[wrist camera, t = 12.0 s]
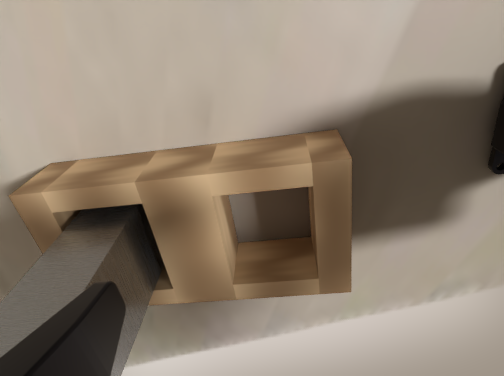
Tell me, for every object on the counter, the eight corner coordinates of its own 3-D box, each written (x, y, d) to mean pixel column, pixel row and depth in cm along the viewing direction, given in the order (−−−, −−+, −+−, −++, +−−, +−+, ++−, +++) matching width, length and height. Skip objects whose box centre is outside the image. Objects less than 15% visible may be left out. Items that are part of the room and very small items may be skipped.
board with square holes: (337, 129, 19) (351, 158, 16) (339, 248, 24) (351, 292, 20) (50, 163, 21) (8, 196, 18) (102, 267, 26) (76, 310, 22)
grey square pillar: (153, 179, 22) (27, 380, 10) (173, 240, 24) (89, 455, 13) (96, 186, 22) (-83, 385, 11) (122, 244, 24) (-2, 457, 13)
